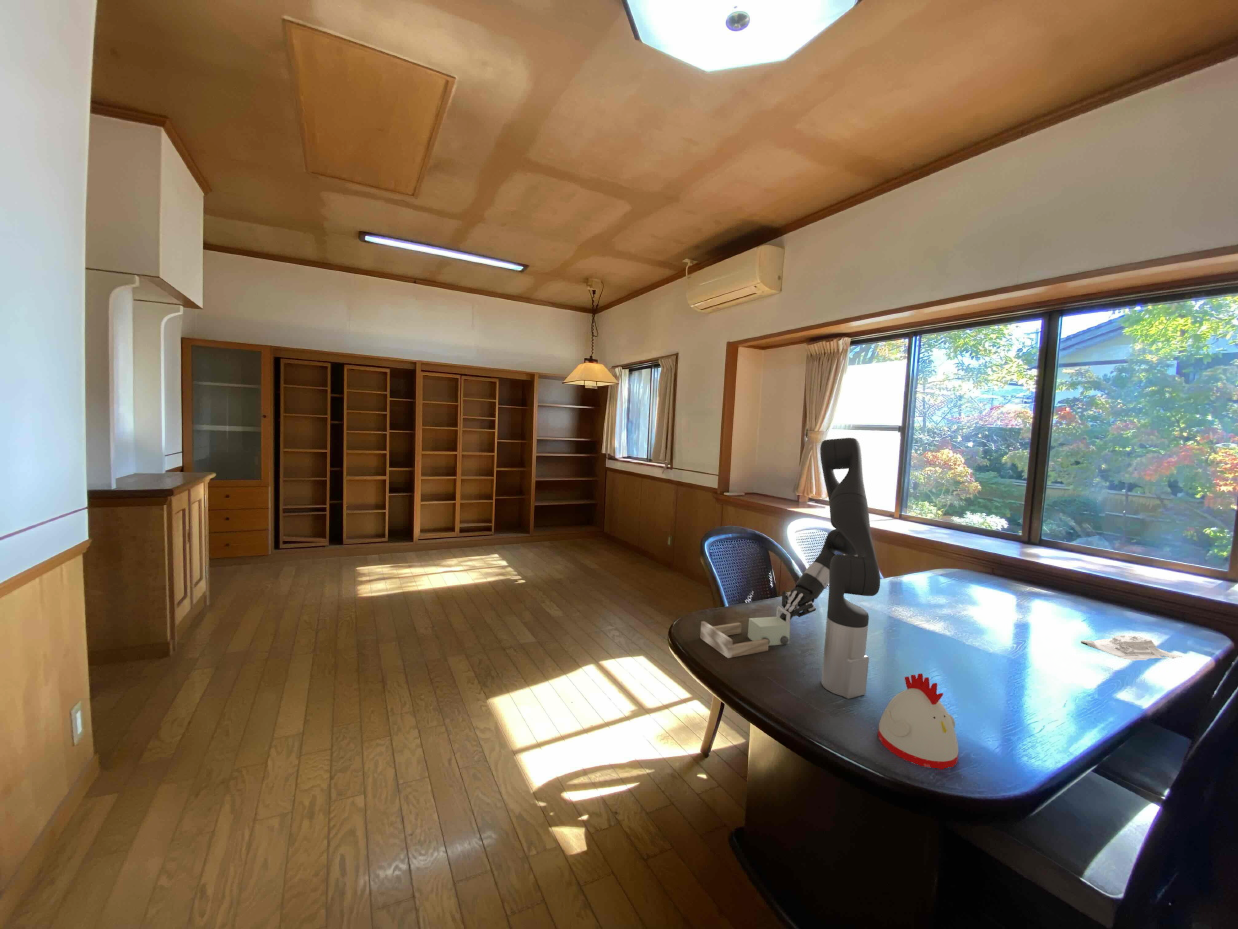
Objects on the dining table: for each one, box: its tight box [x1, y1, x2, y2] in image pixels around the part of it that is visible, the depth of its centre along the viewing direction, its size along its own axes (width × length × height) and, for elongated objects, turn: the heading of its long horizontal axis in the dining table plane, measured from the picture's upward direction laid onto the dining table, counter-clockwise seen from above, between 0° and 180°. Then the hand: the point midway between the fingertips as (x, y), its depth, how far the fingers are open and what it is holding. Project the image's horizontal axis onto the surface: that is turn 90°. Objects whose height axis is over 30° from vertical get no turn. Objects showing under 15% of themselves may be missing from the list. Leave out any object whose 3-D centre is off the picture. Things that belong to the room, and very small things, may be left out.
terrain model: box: [1080, 634, 1183, 662], centre depth 154 cm, size 17×23×5 cm
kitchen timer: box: [877, 673, 959, 770], centre depth 99 cm, size 14×14×15 cm
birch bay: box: [699, 620, 770, 659], centre depth 143 cm, size 13×14×5 cm
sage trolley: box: [747, 605, 791, 647], centre depth 147 cm, size 8×10×10 cm
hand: (781, 622), depth 150 cm, fingers closed
